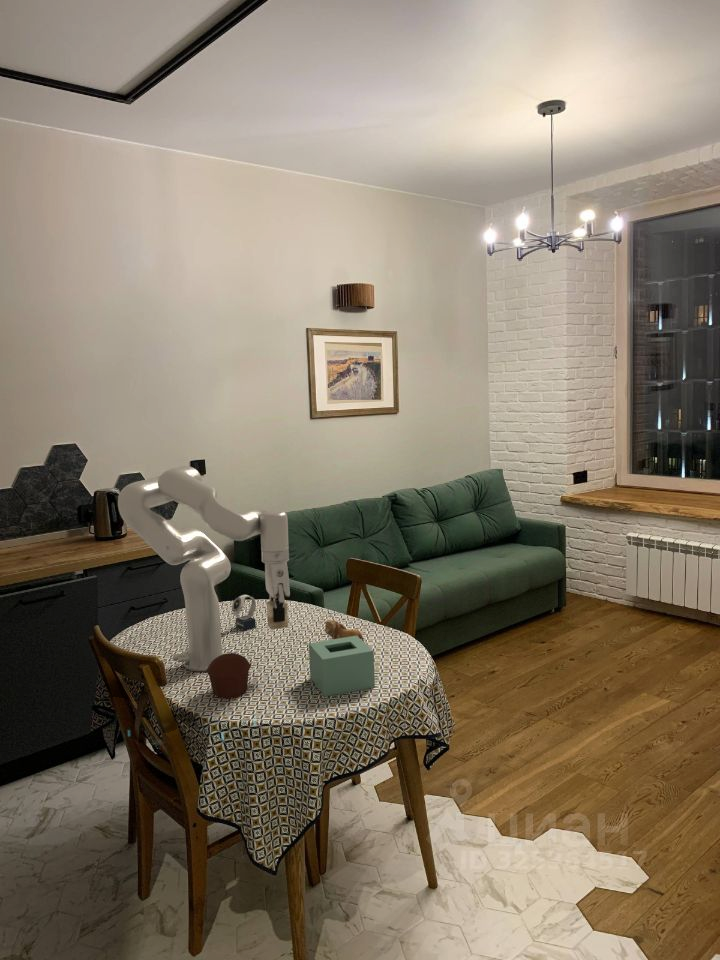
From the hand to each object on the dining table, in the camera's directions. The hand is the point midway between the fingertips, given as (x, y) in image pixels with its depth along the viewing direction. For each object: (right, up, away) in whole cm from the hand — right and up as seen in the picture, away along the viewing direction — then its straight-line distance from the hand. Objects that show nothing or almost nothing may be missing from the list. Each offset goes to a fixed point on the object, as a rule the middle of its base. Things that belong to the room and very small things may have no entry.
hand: (277, 618), depth 203 cm
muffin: (-11, -18, -11) cm, 23 cm away
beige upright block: (0, -2, 0) cm, 2 cm away
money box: (+18, -16, -8) cm, 25 cm away
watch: (-15, -11, +40) cm, 45 cm away
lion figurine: (+19, -13, +16) cm, 28 cm away
